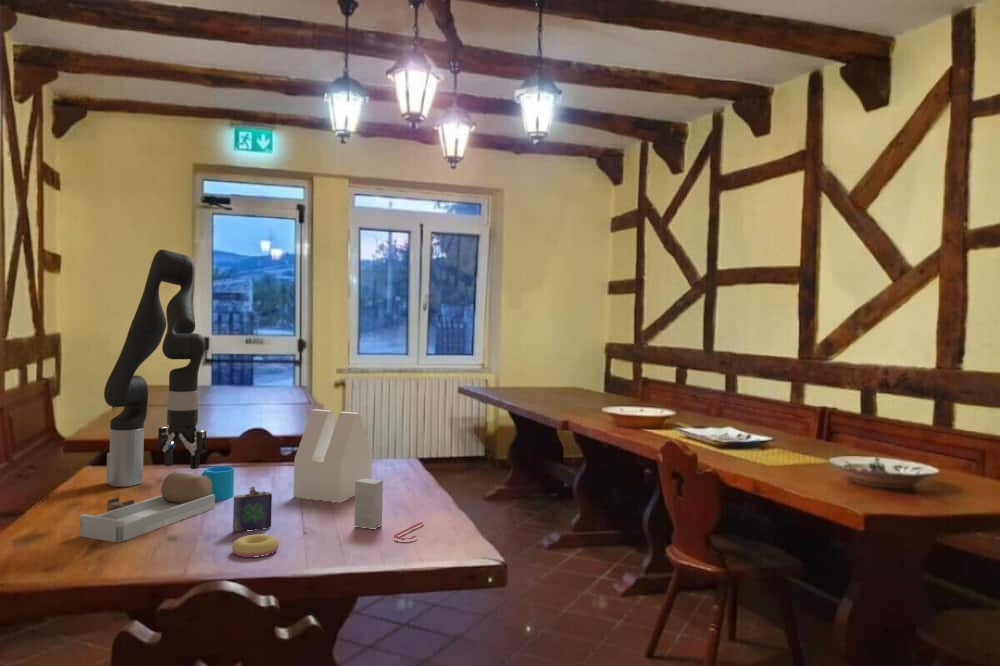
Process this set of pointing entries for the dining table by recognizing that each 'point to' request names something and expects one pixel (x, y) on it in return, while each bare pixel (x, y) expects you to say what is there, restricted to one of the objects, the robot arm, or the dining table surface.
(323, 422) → the white slotted block
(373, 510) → the skincare box
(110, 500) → the brown wooden bracket block
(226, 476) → the mug
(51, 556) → the dining table surface
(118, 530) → the lane
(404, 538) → the candy cane
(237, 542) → the donut
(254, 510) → the flask
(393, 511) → the dining table surface
